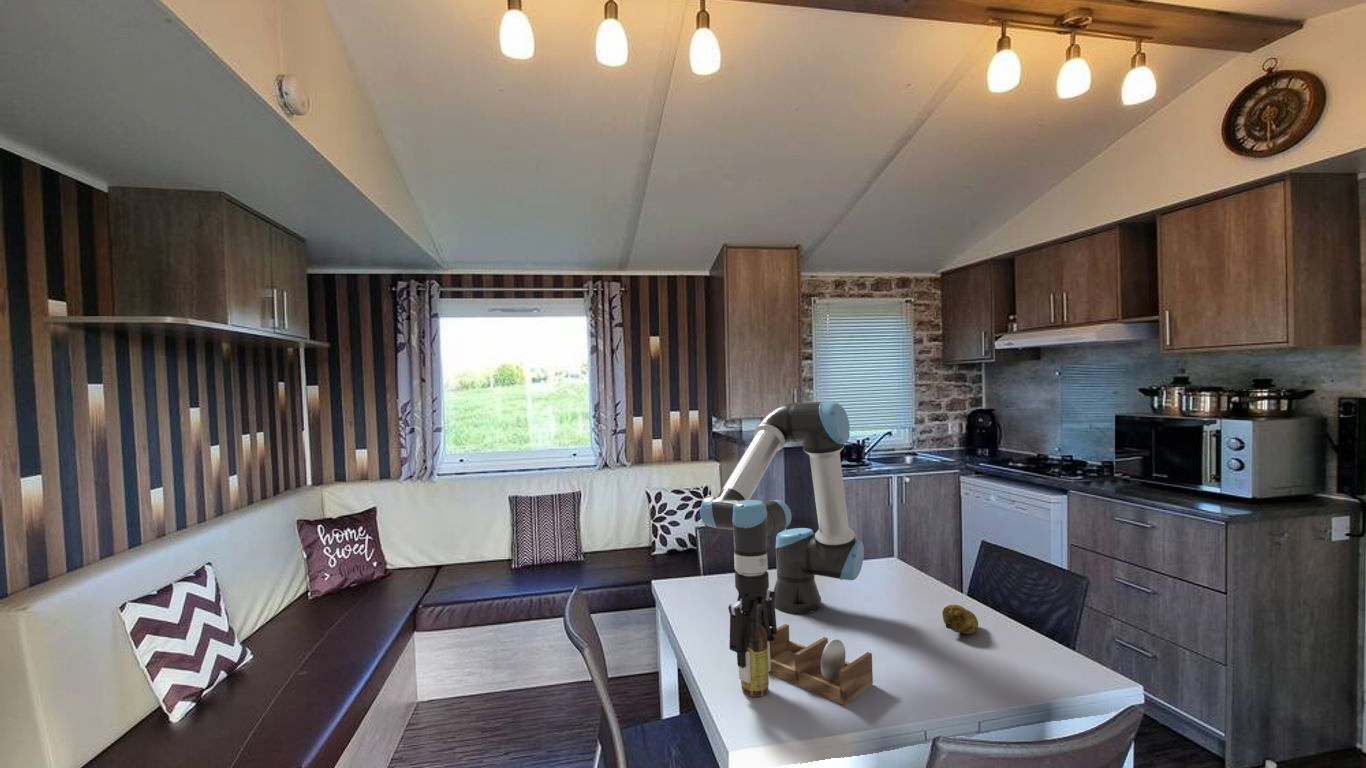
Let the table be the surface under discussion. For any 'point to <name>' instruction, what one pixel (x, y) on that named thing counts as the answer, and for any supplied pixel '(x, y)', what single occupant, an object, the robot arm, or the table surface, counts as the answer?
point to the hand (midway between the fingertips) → (755, 674)
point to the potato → (959, 619)
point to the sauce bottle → (757, 658)
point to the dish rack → (820, 667)
